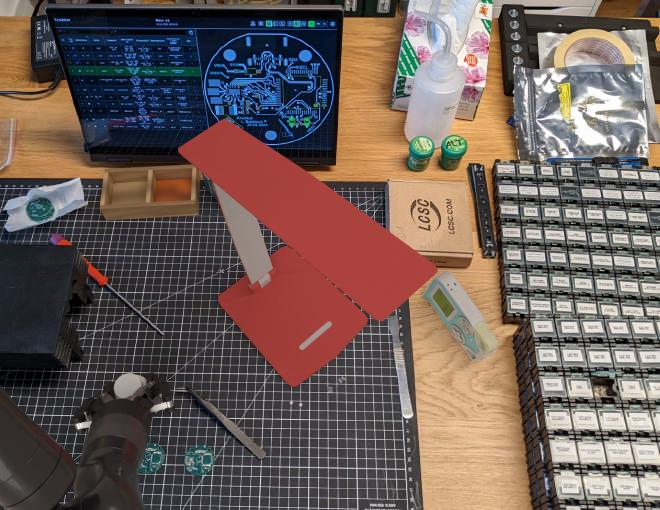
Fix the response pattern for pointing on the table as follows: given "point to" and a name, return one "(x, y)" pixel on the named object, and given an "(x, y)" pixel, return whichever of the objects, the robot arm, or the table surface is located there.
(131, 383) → the pill bottle
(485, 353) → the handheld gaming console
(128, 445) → the robot arm
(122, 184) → the wooden box
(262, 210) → the desk lamp
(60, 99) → the table surface
